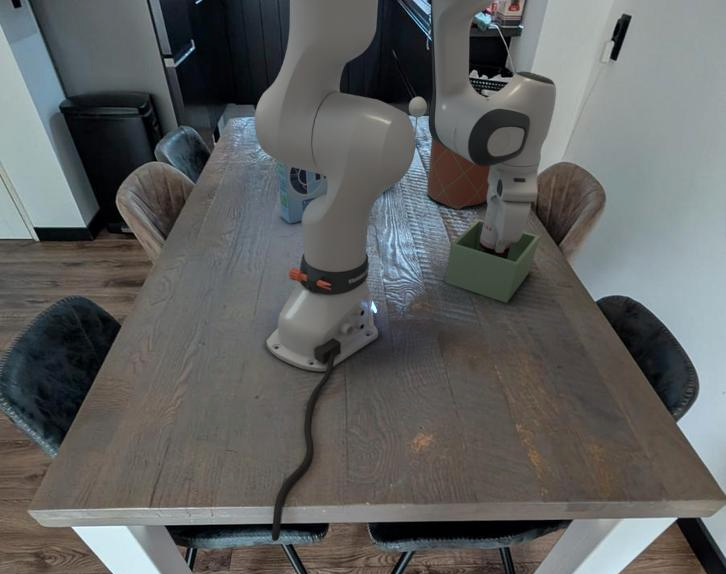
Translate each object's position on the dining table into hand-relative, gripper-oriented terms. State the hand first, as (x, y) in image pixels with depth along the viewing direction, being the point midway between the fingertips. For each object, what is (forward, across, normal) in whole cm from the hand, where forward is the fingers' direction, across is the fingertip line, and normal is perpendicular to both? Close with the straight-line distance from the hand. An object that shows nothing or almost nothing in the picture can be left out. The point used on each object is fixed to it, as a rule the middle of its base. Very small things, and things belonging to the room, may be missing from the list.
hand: (495, 242), depth 101 cm
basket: (+8, 0, 0) cm, 9 cm away
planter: (+9, -44, -2) cm, 45 cm away
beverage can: (+6, 0, 0) cm, 6 cm away
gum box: (+9, -30, -42) cm, 52 cm away
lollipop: (+9, -85, -13) cm, 86 cm away
